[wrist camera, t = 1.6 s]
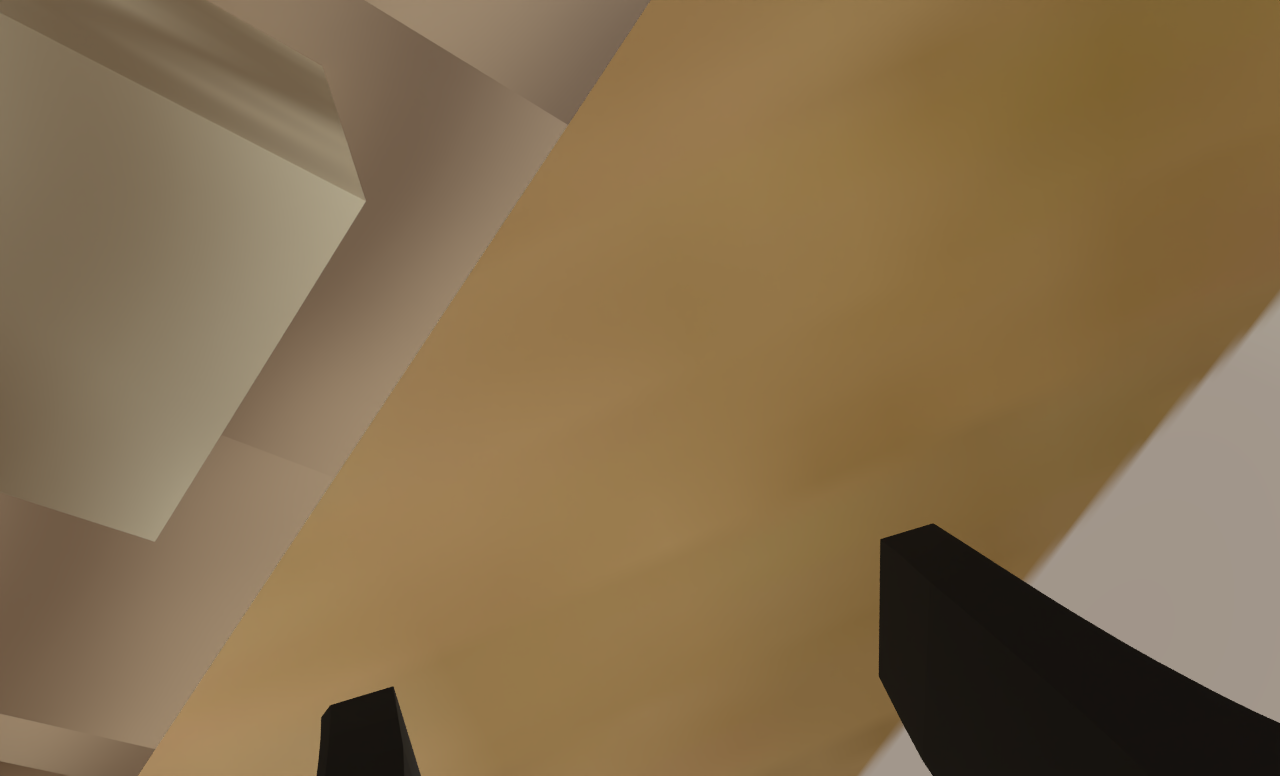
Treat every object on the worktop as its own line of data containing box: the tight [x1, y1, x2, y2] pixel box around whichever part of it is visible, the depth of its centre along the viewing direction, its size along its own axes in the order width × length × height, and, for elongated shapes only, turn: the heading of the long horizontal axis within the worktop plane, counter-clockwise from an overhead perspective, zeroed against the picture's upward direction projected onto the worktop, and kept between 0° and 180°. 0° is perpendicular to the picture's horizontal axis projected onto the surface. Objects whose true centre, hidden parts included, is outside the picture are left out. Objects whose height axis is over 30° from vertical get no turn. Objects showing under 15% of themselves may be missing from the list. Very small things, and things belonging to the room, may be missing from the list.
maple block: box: [0, 0, 366, 542], centre depth 13 cm, size 4×4×4 cm
